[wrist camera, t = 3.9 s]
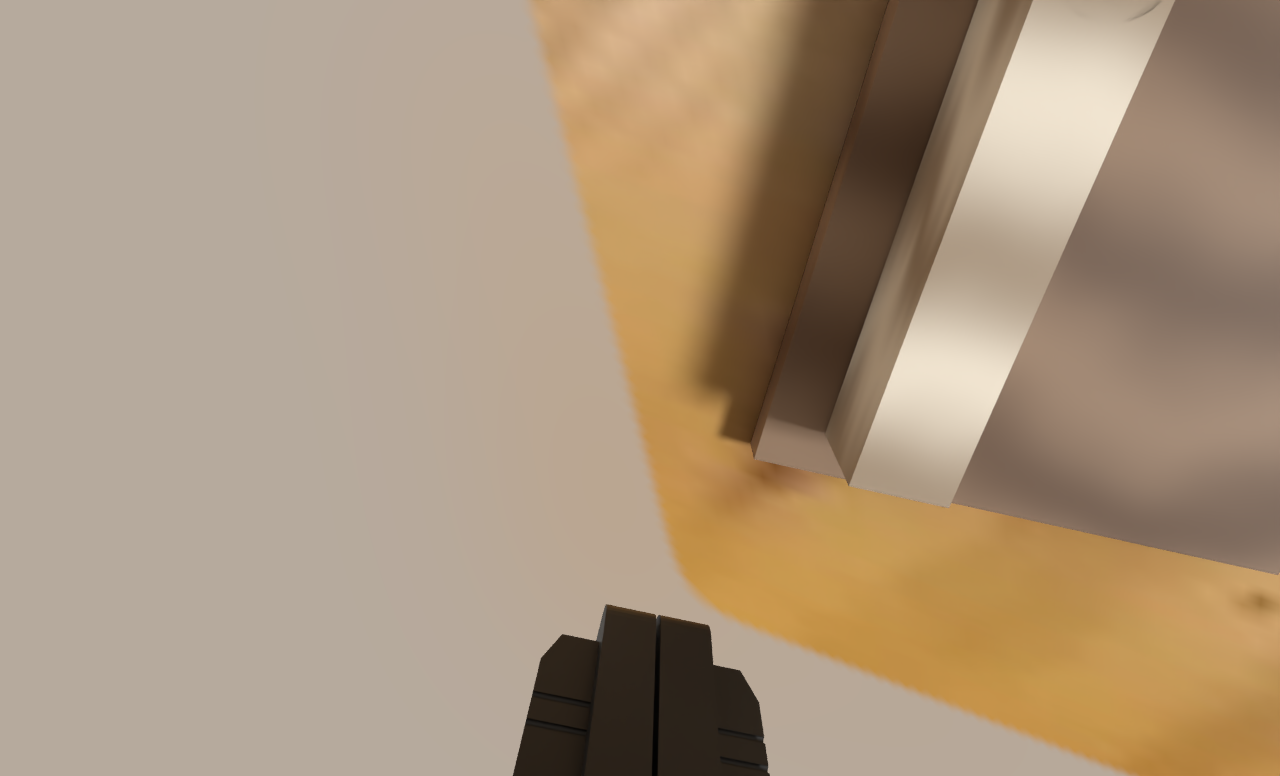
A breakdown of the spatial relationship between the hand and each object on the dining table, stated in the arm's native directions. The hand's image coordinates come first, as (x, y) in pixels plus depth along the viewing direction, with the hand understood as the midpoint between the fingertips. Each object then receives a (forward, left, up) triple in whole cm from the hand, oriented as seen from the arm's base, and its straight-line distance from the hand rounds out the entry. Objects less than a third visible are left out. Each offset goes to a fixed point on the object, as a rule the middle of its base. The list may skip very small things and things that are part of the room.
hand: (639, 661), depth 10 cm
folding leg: (-6, +8, -14) cm, 17 cm away
